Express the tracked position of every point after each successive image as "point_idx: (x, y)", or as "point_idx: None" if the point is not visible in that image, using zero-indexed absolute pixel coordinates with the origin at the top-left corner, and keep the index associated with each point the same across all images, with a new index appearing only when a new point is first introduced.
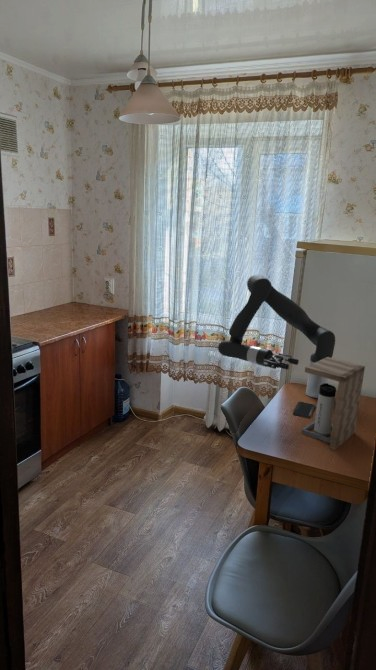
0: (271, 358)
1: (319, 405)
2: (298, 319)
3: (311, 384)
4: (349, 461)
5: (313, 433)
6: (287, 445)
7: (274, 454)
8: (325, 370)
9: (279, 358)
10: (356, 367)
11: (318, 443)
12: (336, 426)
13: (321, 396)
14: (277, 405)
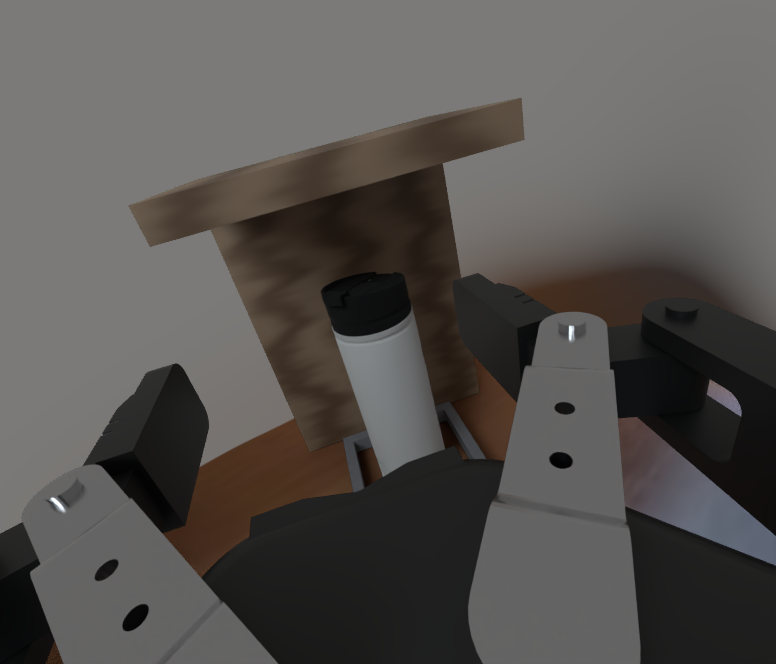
0: (668, 652)
1: (423, 360)
2: None
3: None
4: None
5: (476, 443)
6: (639, 432)
7: (732, 397)
8: (434, 117)
9: (348, 512)
10: (247, 166)
11: (493, 418)
12: None
13: (412, 315)
14: None
